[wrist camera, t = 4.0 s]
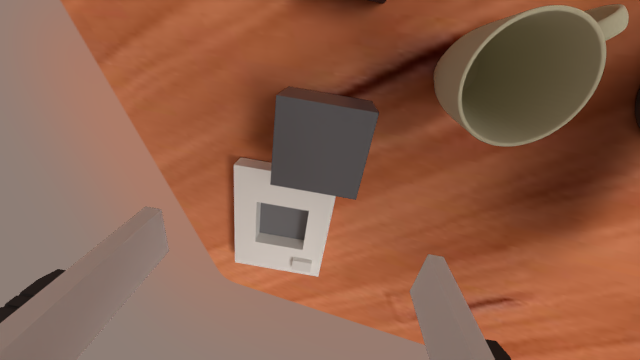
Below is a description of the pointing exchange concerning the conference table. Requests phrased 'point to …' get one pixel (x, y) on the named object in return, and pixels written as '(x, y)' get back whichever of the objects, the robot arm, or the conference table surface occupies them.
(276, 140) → the plug
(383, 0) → the box
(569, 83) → the mug
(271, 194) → the socket
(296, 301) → the conference table surface
